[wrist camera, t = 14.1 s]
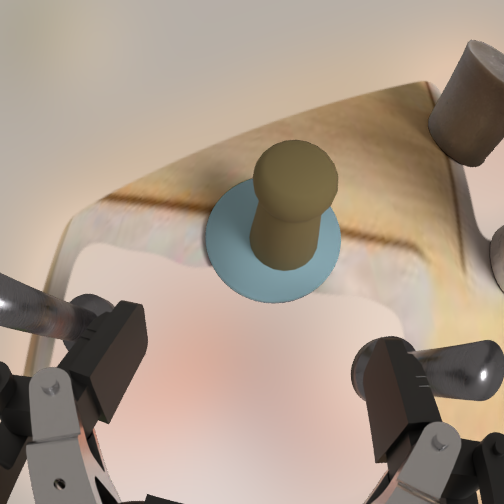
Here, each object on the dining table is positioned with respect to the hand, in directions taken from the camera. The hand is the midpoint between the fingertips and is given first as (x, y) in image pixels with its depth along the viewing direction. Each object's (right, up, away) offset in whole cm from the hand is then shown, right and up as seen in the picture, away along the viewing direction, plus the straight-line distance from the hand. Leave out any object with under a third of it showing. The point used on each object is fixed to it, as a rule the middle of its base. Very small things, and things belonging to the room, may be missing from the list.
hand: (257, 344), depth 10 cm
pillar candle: (+27, +18, +23) cm, 40 cm away
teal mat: (+2, +4, +18) cm, 19 cm away
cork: (+3, +4, +18) cm, 18 cm away
